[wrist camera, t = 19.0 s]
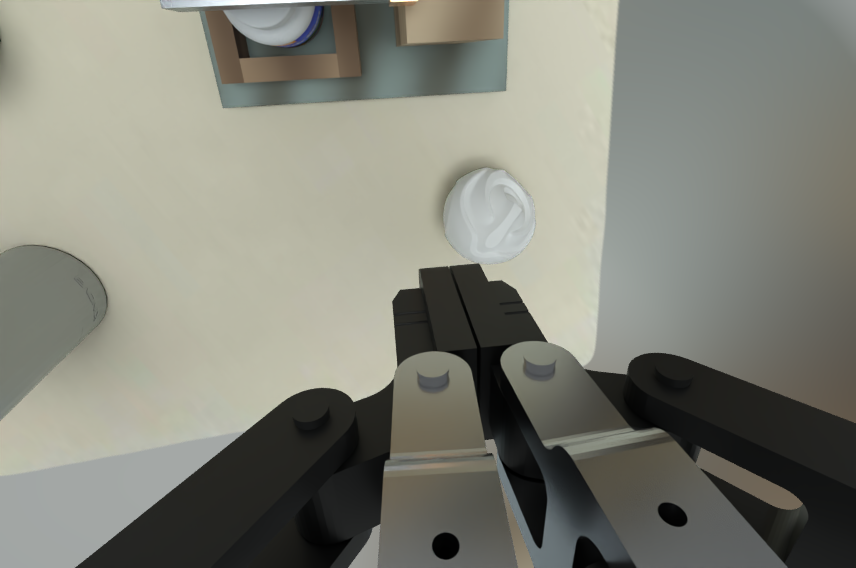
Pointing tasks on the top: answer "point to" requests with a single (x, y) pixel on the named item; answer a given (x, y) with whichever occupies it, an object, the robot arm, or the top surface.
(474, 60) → the socket board
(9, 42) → the top surface
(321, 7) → the pill bottle
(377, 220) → the top surface
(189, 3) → the bar
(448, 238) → the white rounded piece
